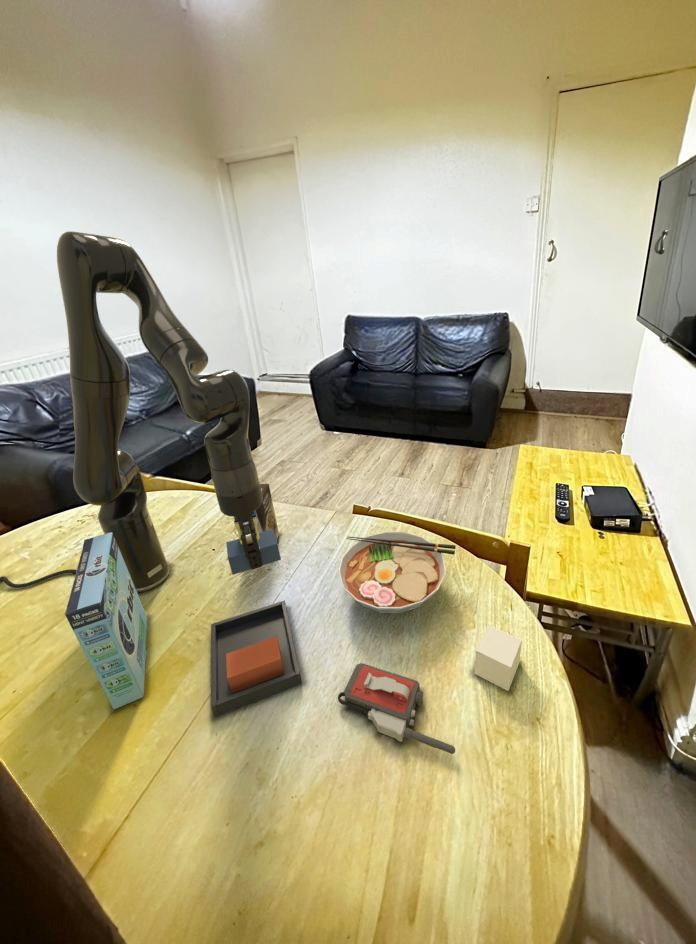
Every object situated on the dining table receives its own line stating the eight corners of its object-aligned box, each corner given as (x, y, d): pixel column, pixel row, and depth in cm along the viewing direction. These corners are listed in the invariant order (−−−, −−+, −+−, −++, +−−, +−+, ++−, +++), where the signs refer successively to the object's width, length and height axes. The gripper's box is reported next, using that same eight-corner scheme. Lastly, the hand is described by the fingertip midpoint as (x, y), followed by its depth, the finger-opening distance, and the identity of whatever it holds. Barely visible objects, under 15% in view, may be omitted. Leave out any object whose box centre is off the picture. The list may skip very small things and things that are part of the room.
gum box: (122, 626, 86) (82, 539, 76) (149, 616, 88) (113, 530, 78) (112, 711, 70) (60, 614, 60) (146, 697, 72) (100, 601, 62)
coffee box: (271, 557, 102) (259, 503, 96) (245, 558, 103) (231, 504, 96) (280, 534, 111) (269, 482, 104) (256, 534, 111) (244, 483, 104)
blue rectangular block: (232, 575, 77) (227, 558, 75) (230, 558, 81) (226, 542, 79) (280, 560, 80) (277, 543, 78) (276, 544, 84) (273, 528, 82)
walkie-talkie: (331, 716, 67) (453, 764, 60) (328, 699, 65) (453, 746, 58) (354, 668, 74) (465, 706, 67) (352, 652, 73) (465, 688, 66)
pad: (232, 693, 71) (227, 678, 69) (230, 668, 75) (226, 653, 74) (284, 673, 74) (280, 658, 72) (280, 650, 78) (276, 635, 76)
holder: (214, 717, 68) (211, 707, 67) (214, 633, 83) (211, 623, 82) (302, 683, 73) (300, 673, 71) (286, 609, 88) (284, 600, 86)
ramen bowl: (320, 623, 84) (315, 593, 80) (356, 548, 104) (353, 522, 100) (443, 648, 77) (443, 616, 74) (456, 563, 97) (457, 535, 94)
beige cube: (519, 663, 74) (522, 639, 71) (508, 691, 69) (511, 667, 67) (486, 647, 77) (488, 624, 74) (474, 673, 72) (475, 650, 70)
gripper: (213, 470, 78) (232, 541, 85) (215, 510, 66) (238, 589, 73) (254, 461, 80) (269, 531, 87) (263, 498, 68) (280, 576, 75)
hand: (255, 557), depth 80 cm, fingers closed on blue rectangular block, 5 cm apart
